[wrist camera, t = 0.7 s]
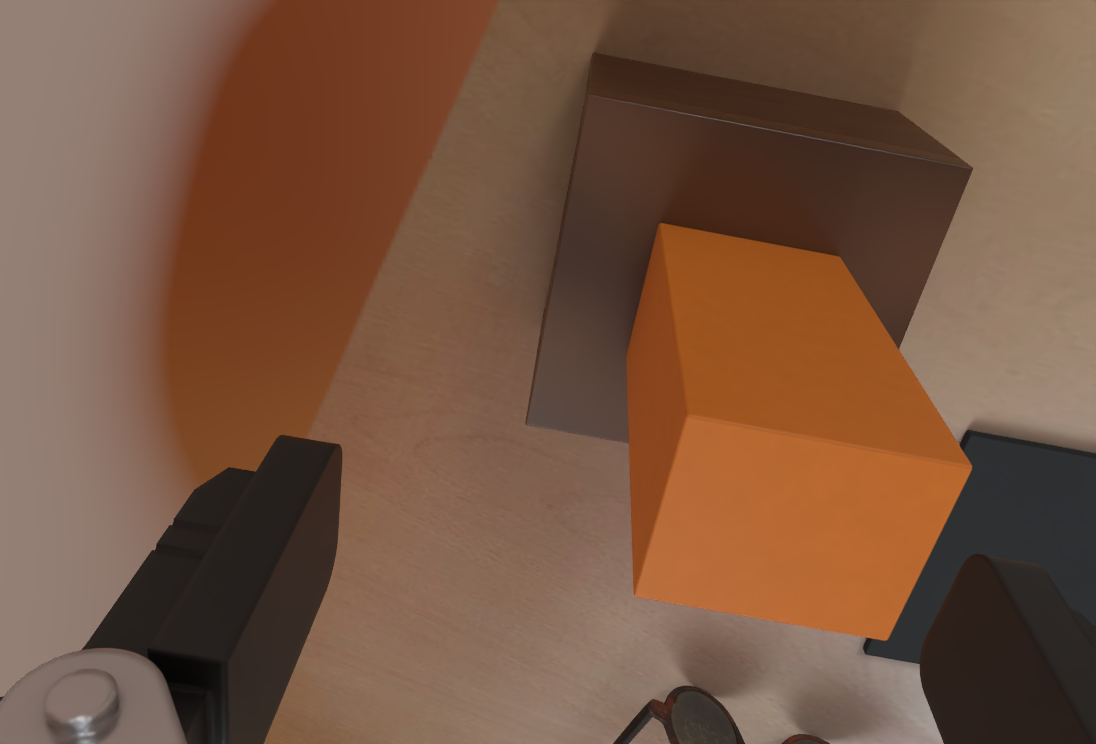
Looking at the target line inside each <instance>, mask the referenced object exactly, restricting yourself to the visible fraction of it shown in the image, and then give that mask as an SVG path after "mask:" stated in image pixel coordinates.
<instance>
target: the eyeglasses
mask: <svg viewBox="0 0 1096 744" xmlns="http://www.w3.org/2000/svg"><path fill="white" fill-rule="evenodd" d="M652 717H654V718H656V719H657V720H659V721H660V722H661V723H662V724H663V725H664V727H665V730H666V733H667V736H668V739H669V741H670V743H671V744H745V743H744V740H743V738H742V736H741V734H740V732H739V730H738V727H737V726H736V724H735V722H734V720H733V718H732V717H731V715H730V714H729V713H728V711H727V710H726V709H725V707H724V706H723V705H722V704H721V703H720V702H719V701H718V700H717V699H715V698H714V697H713V696H711V695H710V694H708V693H707V692H705V691H703V690H701V689H699V688H696V687H693V686H681V687H678V688H676V689H674V690H673V691H672V692H671V693H670V694H669V695H668V696H667V699H666V701H665V703H663V702H660V701H657V700H654V699H652V700H651V701H650V702H649V703H648V704H647V705H646V706H645V707H644V708H643V709H642V710H641V711H640V712H639V713H638V715H637V716H636V717H635V718H634V719H633V720H632V722H631V723H630V724H629V725H628V726H627V728H626V729H625V730H624V731H623V732H622V733H621V735H620V736H619V737H618V738H617V739H616V741H615V742H614V743H613V744H629V743H630V742H631V741H632V739H633V738H634V737H635V736H636V735H637V734H638V733H639V732H640V730H641V729H642V728H643V727H644V726H645V725H646V724H647V723H648V722H649V720H650V719H651V718H652ZM782 744H830V743H828V742H826V741H824V740H822V739H820V738H818V737H815V736H811V735H806V734H798V735H794V736H791V737H789V738H788V739H786V740H785V741H784V742H783V743H782Z"/></svg>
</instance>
